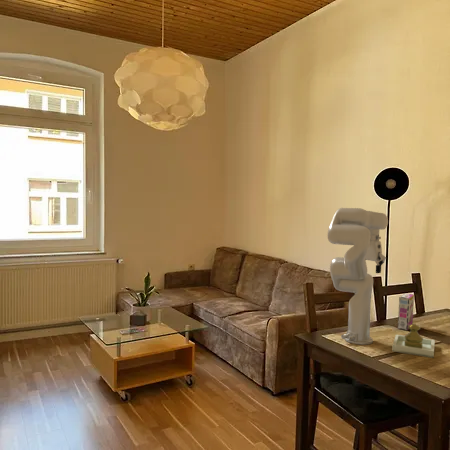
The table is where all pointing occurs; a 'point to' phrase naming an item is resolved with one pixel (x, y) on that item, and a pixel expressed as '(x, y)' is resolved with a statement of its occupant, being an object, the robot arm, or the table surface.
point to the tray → (401, 348)
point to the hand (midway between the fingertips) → (370, 271)
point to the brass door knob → (413, 337)
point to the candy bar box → (405, 311)
